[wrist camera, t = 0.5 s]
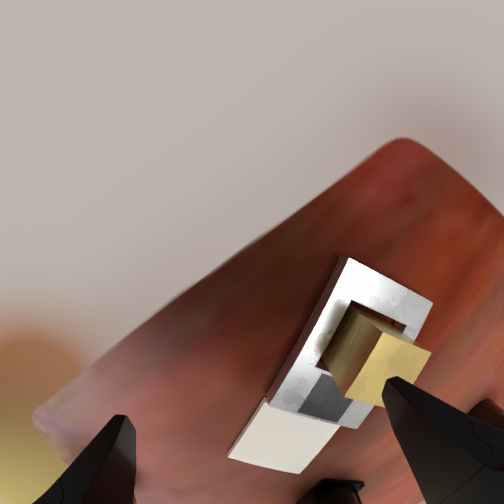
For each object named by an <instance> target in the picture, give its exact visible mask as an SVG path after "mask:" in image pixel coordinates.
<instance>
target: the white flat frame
mask: <svg viewBox="0 0 504 504" xmlns="http://www.w3.org/2000/svg"><path fill="white" fill-rule="evenodd" d="M351 300H354V301H356V302H358V303H360V304H362V305H364V306H366V307H369V308H371V309H373V310H375V311H377V312H379V313H381V314H384V315H386V316H388V317H390V318H392V319H394V320H395V321H394V323H393V325H392V326H394V327H395V328H397V329H398V330H400V331H401V332H402V333H404V334H405V335H407V336H408V337H410V338H411V339H413V340H414V341H415V339H416V337H417V335H418V333H419V331H420V329H421V327H422V325H423V323H424V321H425V319H426V317H427V315H428V313H429V311H430V309H431V306H432V304H433V303H432V302H431V301H429V300H427V299H425V298H424V297H422V296H420V295H418V294H416V293H415V292H413V291H411V290H409V289H407V288H405V287H404V286H402V285H400V284H398V283H396V282H394V281H393V280H391V279H389V278H387V277H385V276H383V275H381V274H379V273H378V272H376V271H374V270H372V269H370V268H368V267H366V266H364V265H362V264H360V263H359V262H357V261H355V260H353V259H351V258H349V257H345V256H342V255H340V257H339V259H338V261H337V264H336V266H335V268H334V270H333V272H332V274H331V276H330V278H329V280H328V282H327V284H326V286H325V288H324V290H323V292H322V294H321V296H320V298H319V300H318V302H317V304H316V306H315V308H314V310H313V312H312V314H311V316H310V318H309V320H308V322H307V324H306V325H305V327H304V329H303V331H302V333H301V335H300V337H299V338H298V340H297V342H296V344H295V346H294V347H293V349H292V351H291V353H290V354H289V356H288V358H287V360H286V361H285V363H284V365H283V367H282V368H281V370H280V372H279V374H278V375H277V377H276V379H275V380H274V382H273V384H272V385H271V387H270V389H269V390H268V392H267V398H268V406H271V407H274V408H277V409H280V410H283V411H287V412H290V413H293V414H297V415H300V416H304V417H308V418H311V419H315V420H319V421H323V422H327V423H331V424H336V425H340V426H344V427H349V428H354V429H357V428H358V427H359V426H360V424H361V423H362V422H363V420H364V419H365V418H366V416H367V415H368V414H369V412H370V411H371V409H372V408H373V407H374V405H372V404H369V403H365V402H361V401H357V400H353V399H350V398H346V397H344V396H343V394H342V393H341V391H340V389H339V387H338V385H337V384H336V382H335V380H334V378H333V377H332V375H331V373H330V371H329V369H328V368H327V366H326V364H325V362H324V361H321V360H319V358H320V357H321V355H322V353H323V352H324V350H325V348H326V346H327V345H328V343H329V341H330V339H331V337H332V336H333V334H334V332H335V330H336V328H337V326H338V325H339V323H340V321H341V319H342V317H343V315H344V313H345V311H346V309H347V307H348V306H349V304H350V302H351Z"/></svg>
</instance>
